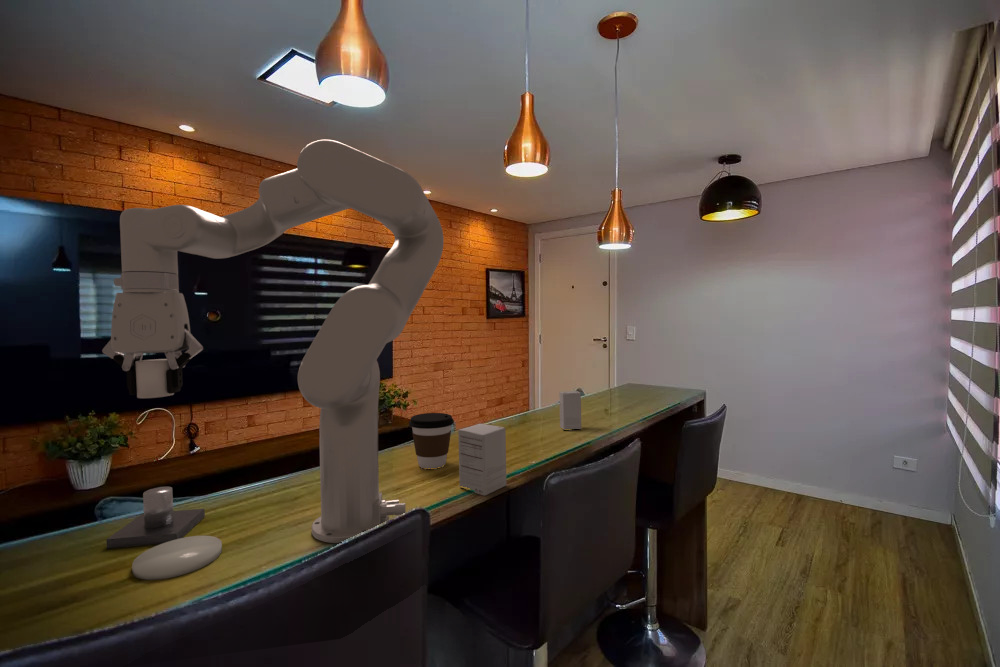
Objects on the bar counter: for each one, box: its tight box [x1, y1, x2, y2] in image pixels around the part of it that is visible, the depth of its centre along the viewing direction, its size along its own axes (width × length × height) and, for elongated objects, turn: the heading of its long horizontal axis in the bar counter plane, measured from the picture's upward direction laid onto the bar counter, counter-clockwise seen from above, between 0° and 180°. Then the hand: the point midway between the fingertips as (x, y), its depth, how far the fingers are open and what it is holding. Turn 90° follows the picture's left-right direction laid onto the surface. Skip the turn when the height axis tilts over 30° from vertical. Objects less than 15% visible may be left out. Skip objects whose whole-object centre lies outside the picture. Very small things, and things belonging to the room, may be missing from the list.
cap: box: [135, 358, 175, 399], centre depth 79 cm, size 6×5×6 cm
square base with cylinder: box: [105, 486, 206, 549], centre depth 79 cm, size 10×10×7 cm
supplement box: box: [457, 423, 507, 497], centre depth 98 cm, size 7×7×13 cm
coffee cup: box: [408, 412, 455, 469], centre depth 113 cm, size 11×11×12 cm
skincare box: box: [558, 390, 582, 430], centre depth 149 cm, size 6×4×12 cm
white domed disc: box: [131, 535, 223, 581], centre depth 69 cm, size 11×11×1 cm
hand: (155, 391), depth 78 cm, fingers closed on cap, 4 cm apart
